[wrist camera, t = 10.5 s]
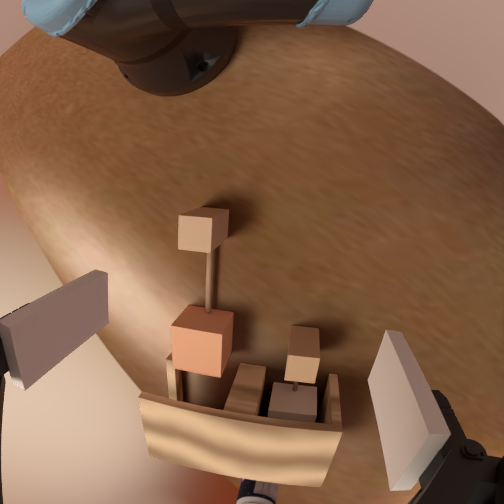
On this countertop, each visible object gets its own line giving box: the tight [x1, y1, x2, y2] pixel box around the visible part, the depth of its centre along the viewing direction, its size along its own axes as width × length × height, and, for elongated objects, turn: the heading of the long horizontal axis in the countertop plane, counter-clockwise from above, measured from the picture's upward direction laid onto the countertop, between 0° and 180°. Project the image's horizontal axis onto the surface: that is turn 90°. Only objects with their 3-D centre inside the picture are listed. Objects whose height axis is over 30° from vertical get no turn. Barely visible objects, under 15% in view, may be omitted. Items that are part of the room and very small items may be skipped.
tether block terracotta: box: [171, 207, 234, 378], centre depth 37 cm, size 19×6×7 cm, turn 176°
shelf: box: [138, 352, 342, 487], centre depth 38 cm, size 11×23×11 cm, turn 86°
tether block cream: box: [267, 325, 320, 423], centre depth 38 cm, size 15×6×7 cm, turn 176°
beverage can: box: [236, 478, 279, 504], centre depth 41 cm, size 6×6×12 cm
